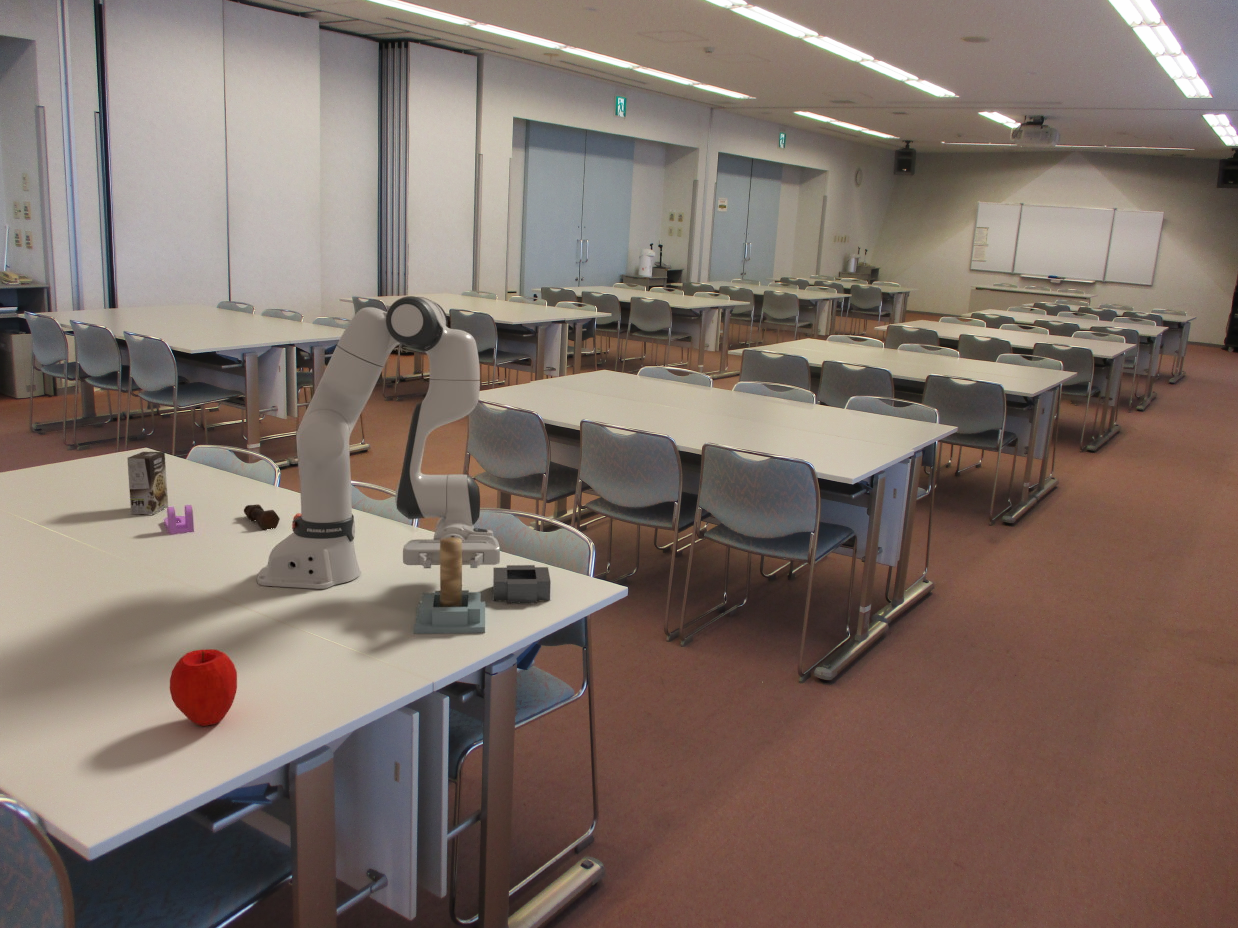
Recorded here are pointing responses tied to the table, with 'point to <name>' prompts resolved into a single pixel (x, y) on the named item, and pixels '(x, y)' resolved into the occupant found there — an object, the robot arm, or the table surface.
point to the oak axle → (451, 572)
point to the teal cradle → (450, 615)
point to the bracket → (185, 521)
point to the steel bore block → (521, 584)
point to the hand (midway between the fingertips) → (450, 564)
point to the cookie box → (147, 482)
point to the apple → (204, 686)
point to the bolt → (262, 516)
